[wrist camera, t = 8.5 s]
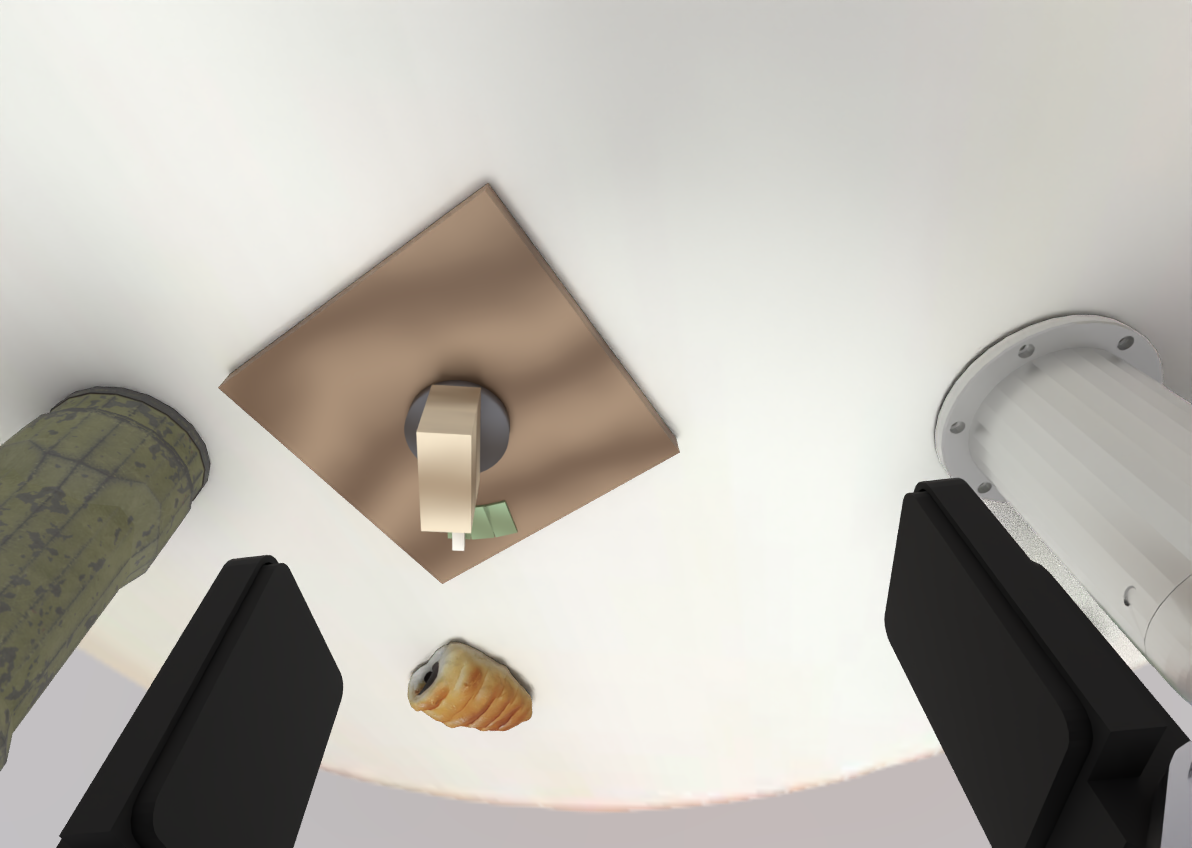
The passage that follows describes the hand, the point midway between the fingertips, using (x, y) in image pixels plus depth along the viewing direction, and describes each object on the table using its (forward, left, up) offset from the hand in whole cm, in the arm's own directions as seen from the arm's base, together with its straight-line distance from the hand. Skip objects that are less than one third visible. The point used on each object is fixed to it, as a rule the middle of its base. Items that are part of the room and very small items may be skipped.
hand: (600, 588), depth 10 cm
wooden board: (-7, +12, -26) cm, 30 cm away
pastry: (-26, +27, -27) cm, 46 cm away
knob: (-9, +14, -24) cm, 30 cm away
